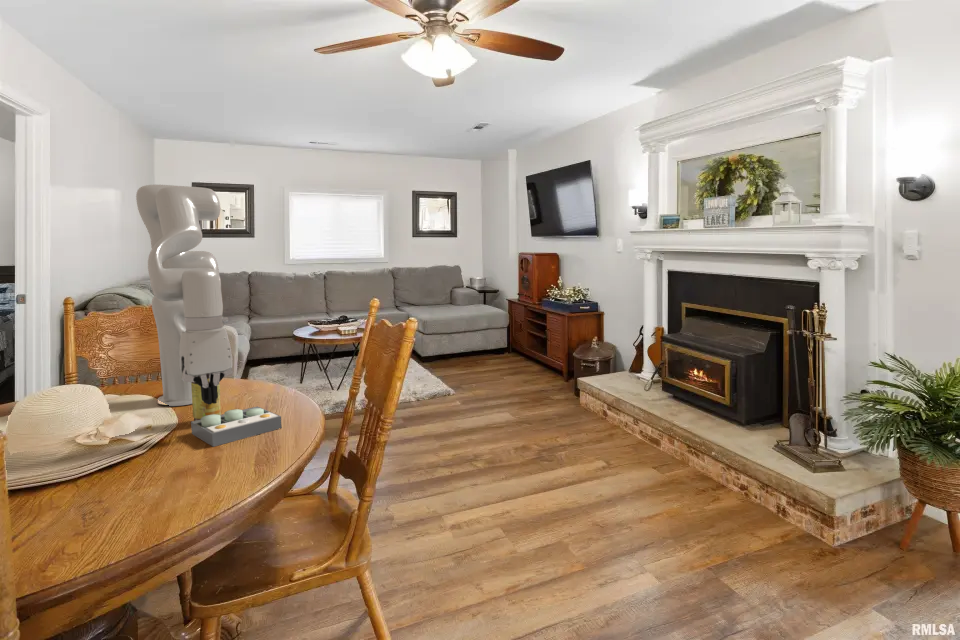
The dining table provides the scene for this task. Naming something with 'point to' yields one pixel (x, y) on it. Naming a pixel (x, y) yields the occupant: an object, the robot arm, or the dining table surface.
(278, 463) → the dining table surface
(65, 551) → the dining table surface
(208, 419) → the end button
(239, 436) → the button board
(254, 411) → the end button
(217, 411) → the sauce bottle
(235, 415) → the middle button
